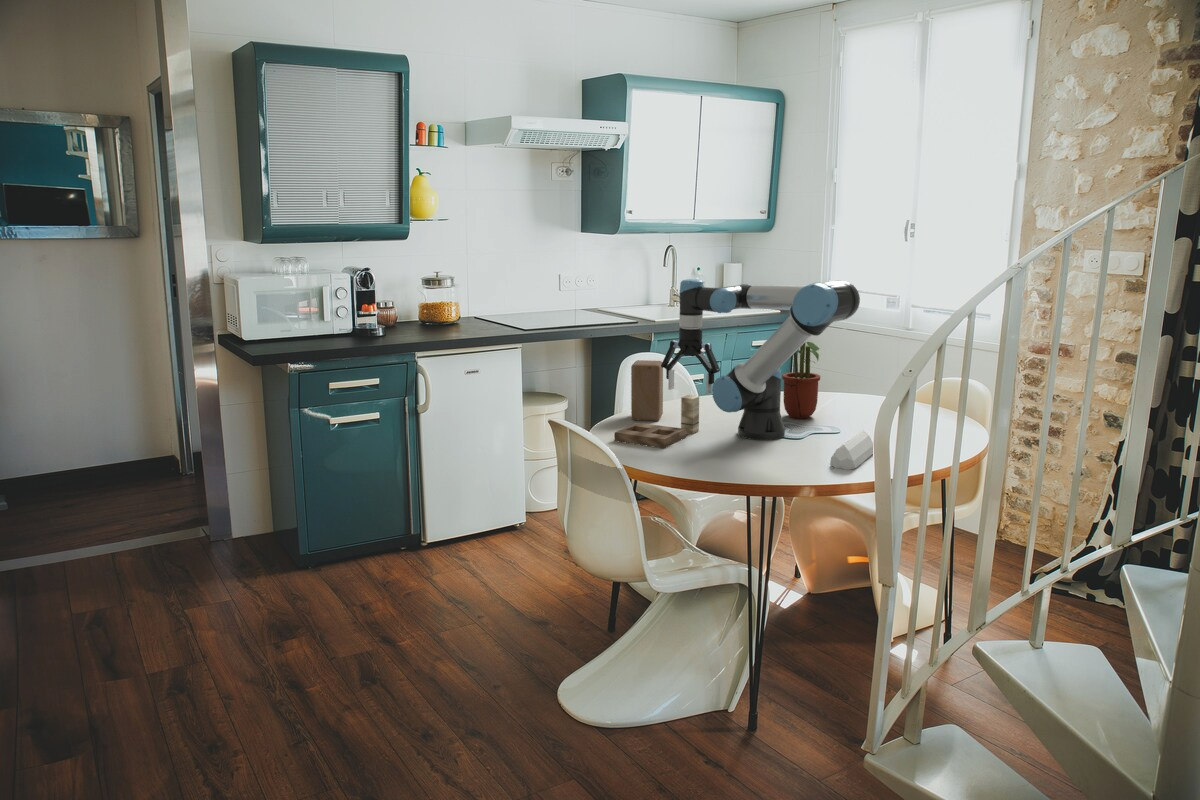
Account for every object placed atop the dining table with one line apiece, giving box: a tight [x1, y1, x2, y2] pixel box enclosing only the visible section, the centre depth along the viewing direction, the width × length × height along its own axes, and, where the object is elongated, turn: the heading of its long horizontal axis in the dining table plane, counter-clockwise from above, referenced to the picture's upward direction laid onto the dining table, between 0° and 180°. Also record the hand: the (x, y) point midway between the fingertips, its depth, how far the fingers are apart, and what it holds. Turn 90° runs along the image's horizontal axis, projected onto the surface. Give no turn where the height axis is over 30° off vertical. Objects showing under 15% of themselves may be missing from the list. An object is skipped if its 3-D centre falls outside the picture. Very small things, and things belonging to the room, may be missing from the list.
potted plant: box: [781, 341, 821, 420], centre depth 328 cm, size 17×16×35 cm
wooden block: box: [630, 359, 664, 422], centre depth 328 cm, size 10×10×20 cm
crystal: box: [829, 429, 874, 471], centre depth 276 cm, size 7×7×24 cm
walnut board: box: [613, 422, 687, 449], centre depth 301 cm, size 18×15×3 cm
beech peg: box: [680, 394, 700, 435], centre depth 309 cm, size 4×4×12 cm
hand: (689, 391), depth 307 cm, fingers open, 13 cm apart
